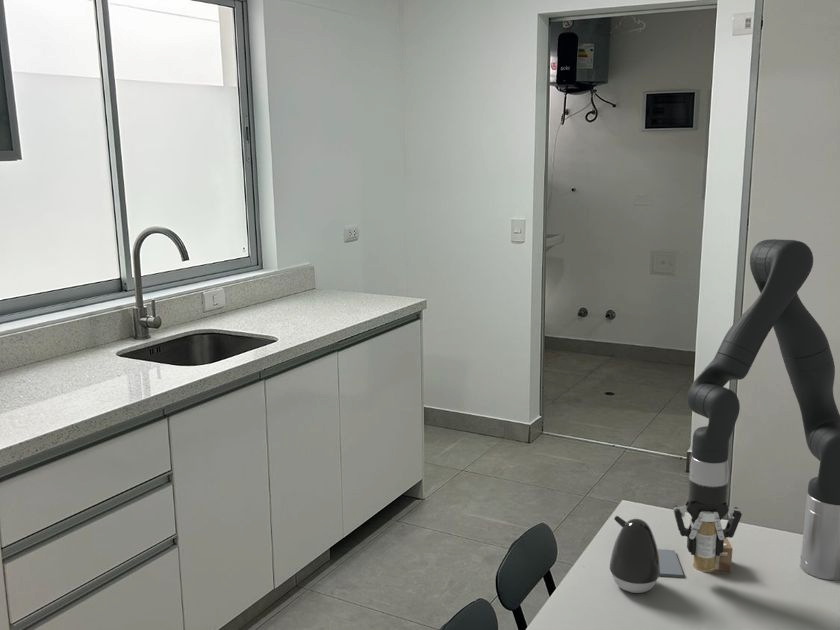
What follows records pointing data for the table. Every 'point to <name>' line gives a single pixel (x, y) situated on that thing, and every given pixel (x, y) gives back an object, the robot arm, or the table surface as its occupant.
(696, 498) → the robot arm
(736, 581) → the table surface
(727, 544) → the walnut letter cube
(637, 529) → the pump dispenser
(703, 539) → the sprinkles bottle
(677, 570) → the blue-grey square plate
